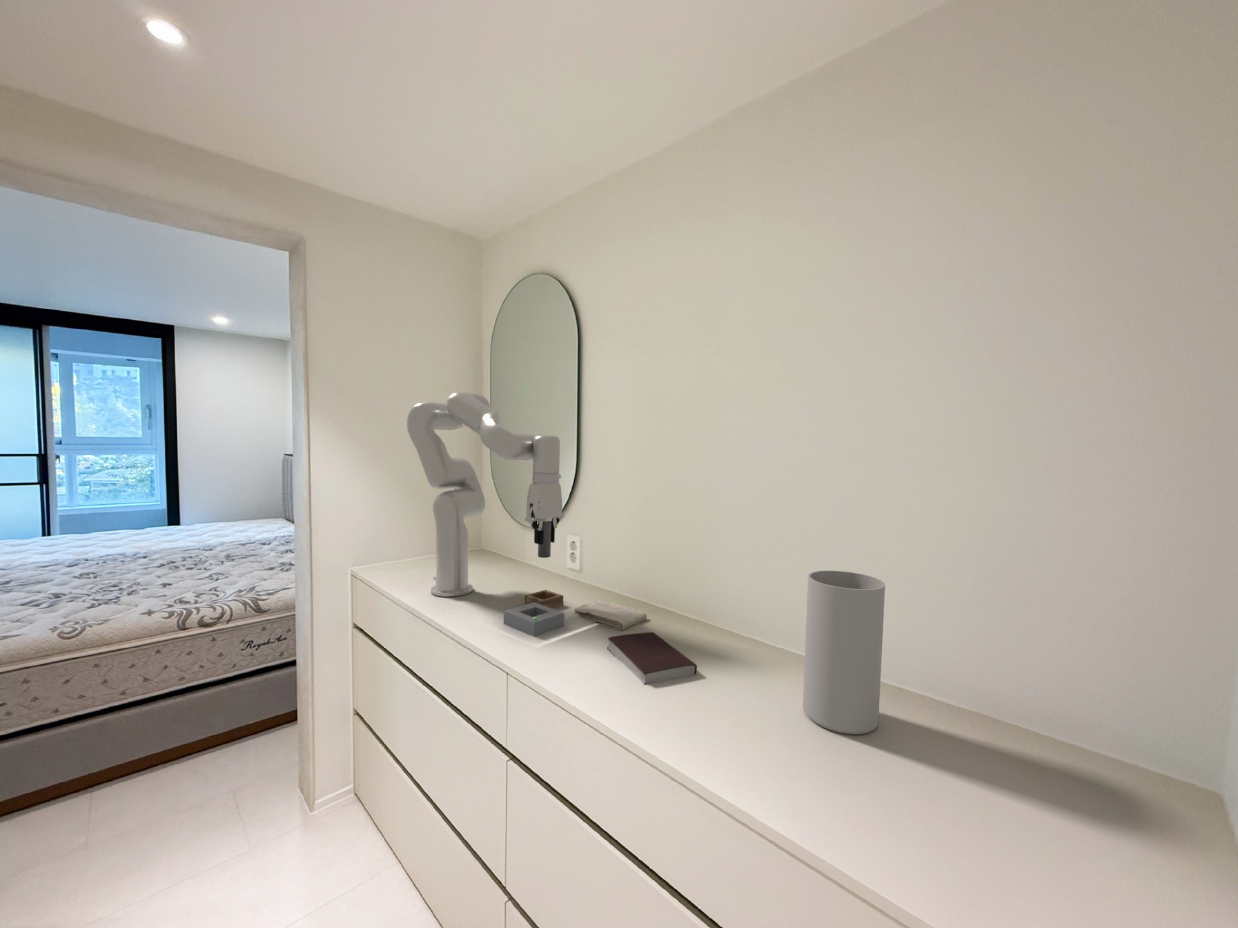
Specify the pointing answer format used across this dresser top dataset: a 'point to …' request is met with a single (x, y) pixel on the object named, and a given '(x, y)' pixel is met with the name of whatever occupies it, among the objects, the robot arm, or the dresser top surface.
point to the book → (650, 657)
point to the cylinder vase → (843, 651)
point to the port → (533, 619)
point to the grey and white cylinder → (545, 539)
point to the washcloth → (611, 614)
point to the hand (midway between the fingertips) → (544, 542)
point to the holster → (545, 599)
